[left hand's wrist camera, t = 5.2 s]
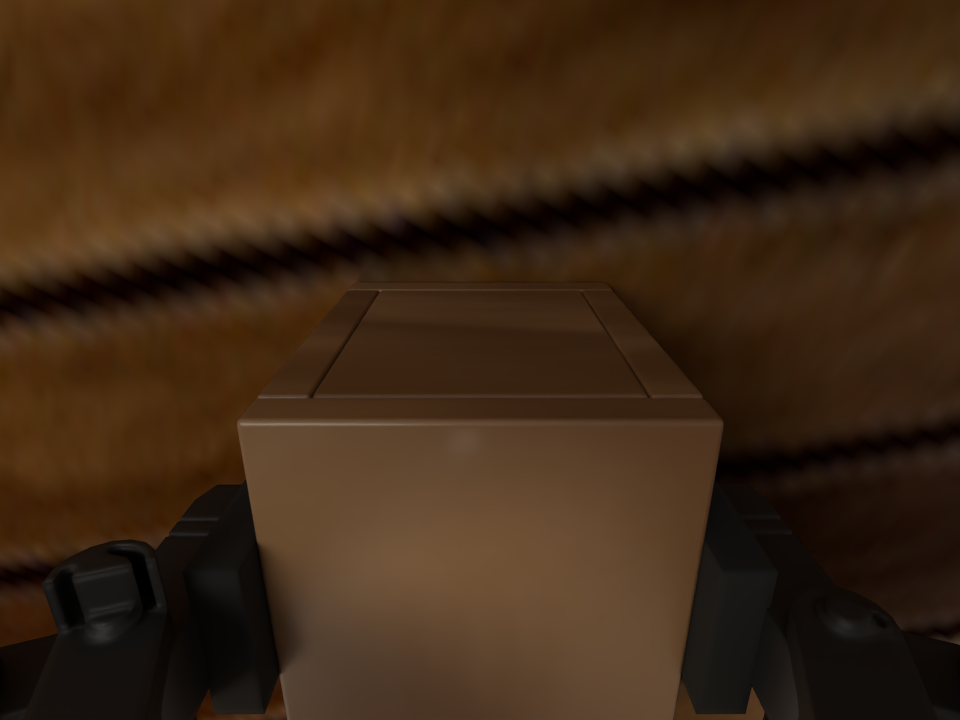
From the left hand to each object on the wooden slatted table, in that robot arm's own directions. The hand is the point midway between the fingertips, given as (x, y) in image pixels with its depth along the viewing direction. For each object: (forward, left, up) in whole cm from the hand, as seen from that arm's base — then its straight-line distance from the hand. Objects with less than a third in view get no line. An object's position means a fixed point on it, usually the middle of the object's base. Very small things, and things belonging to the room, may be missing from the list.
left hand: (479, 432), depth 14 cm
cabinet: (+1, +5, -2) cm, 5 cm away
